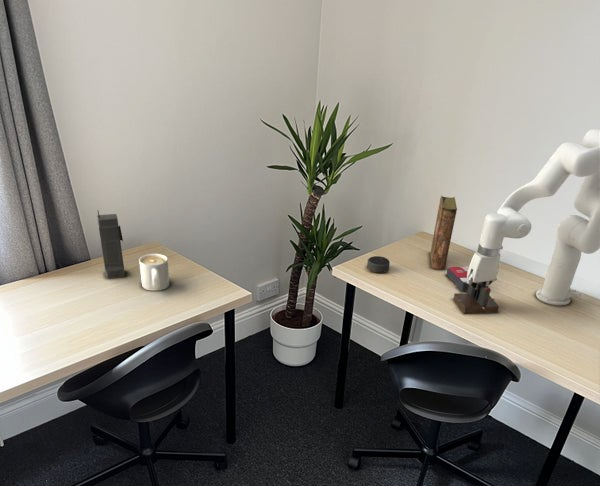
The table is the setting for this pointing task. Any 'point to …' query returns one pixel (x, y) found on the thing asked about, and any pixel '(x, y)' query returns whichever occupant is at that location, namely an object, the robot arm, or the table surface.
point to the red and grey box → (459, 276)
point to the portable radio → (111, 245)
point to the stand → (474, 304)
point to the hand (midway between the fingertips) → (477, 297)
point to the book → (443, 232)
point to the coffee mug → (154, 272)
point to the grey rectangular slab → (481, 294)
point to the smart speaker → (378, 264)
